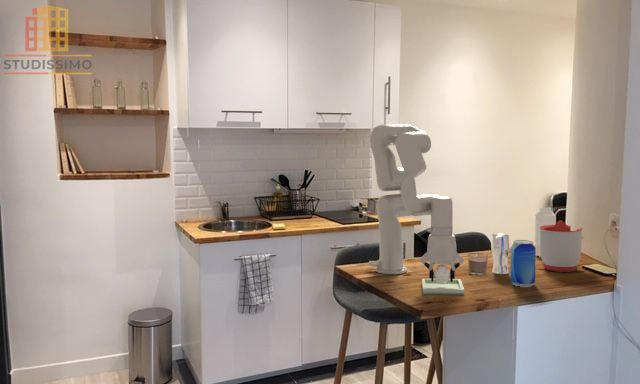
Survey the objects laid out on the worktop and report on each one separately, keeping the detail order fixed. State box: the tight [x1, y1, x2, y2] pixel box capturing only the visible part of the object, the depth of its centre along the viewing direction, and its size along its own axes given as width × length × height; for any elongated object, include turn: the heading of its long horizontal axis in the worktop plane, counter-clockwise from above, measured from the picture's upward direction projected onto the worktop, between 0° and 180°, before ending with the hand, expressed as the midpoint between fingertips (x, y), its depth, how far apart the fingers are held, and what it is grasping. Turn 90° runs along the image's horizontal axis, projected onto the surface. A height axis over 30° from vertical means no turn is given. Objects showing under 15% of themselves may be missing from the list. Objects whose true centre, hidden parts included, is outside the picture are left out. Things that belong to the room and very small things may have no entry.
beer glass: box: [490, 233, 511, 275], centre depth 213 cm, size 7×7×15 cm
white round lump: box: [433, 264, 451, 284], centre depth 192 cm, size 6×6×7 cm
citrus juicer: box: [540, 219, 584, 273], centre depth 215 cm, size 16×17×20 cm
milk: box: [534, 206, 557, 258], centre depth 238 cm, size 6×6×22 cm
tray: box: [421, 278, 465, 296], centre depth 193 cm, size 14×14×2 cm
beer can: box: [510, 239, 536, 288], centre depth 194 cm, size 8×8×16 cm
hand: (441, 280), depth 193 cm, fingers closed on white round lump, 6 cm apart
